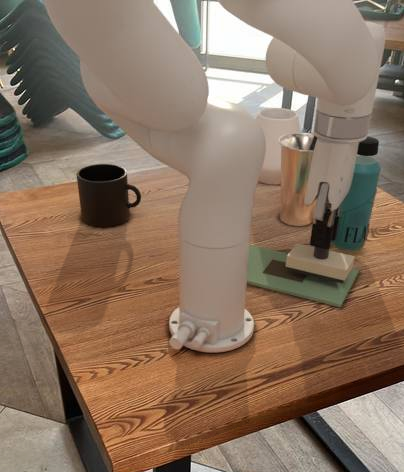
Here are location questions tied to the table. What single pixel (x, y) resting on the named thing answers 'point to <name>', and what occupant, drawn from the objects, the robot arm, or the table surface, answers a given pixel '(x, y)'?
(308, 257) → the scrub brush
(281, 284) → the mat
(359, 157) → the beverage bottle
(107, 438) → the table surface
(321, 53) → the robot arm
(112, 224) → the mug
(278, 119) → the cup
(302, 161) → the copper tumbler with straw
